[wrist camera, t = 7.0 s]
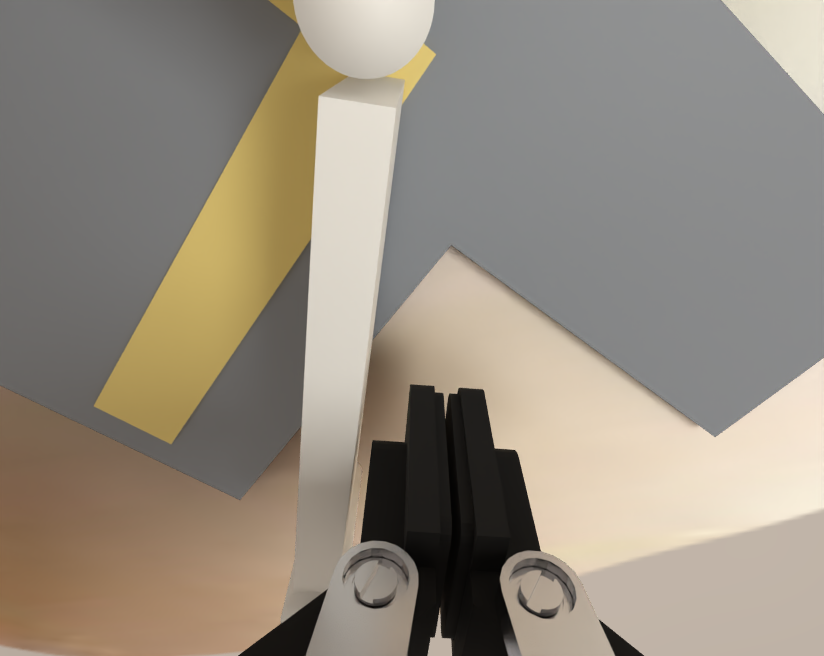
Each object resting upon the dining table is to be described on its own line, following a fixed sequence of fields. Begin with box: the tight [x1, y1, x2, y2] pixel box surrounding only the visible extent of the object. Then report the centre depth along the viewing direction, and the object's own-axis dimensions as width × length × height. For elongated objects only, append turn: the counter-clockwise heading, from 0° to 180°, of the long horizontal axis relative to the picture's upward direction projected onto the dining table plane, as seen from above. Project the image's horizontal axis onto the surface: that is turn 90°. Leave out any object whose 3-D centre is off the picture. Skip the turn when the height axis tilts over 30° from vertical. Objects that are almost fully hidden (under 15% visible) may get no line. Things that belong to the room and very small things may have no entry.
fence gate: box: [281, 76, 405, 623], centre depth 11 cm, size 12×1×5 cm, turn 172°
